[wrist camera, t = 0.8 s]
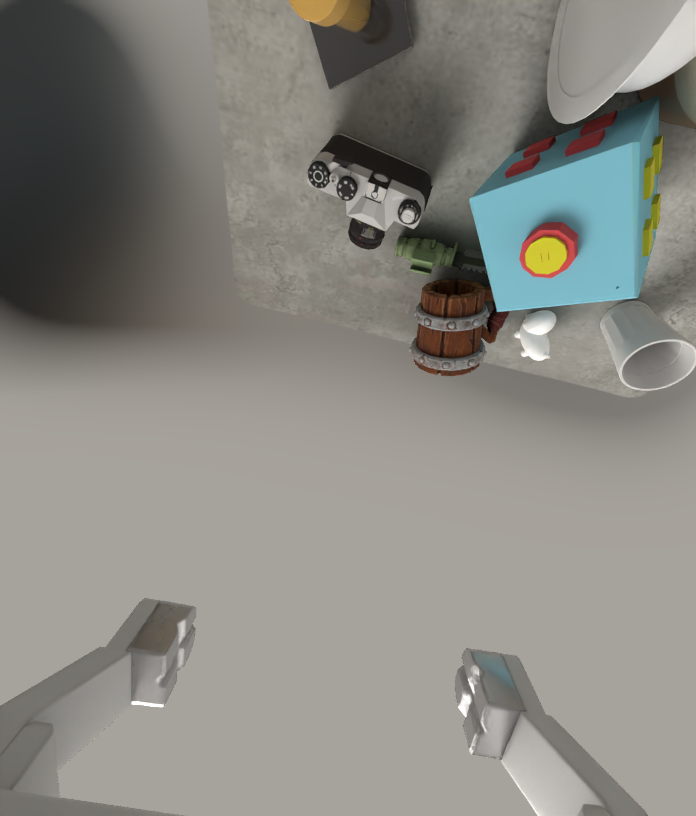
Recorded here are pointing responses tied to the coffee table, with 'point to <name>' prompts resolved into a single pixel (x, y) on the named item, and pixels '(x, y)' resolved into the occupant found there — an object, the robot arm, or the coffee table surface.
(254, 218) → the coffee table surface
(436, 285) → the mug
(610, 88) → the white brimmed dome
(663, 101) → the planter
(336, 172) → the camera
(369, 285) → the coffee table surface
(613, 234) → the toy
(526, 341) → the toy creature
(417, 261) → the knife
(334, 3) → the spout
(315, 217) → the coffee table surface
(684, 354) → the cup
